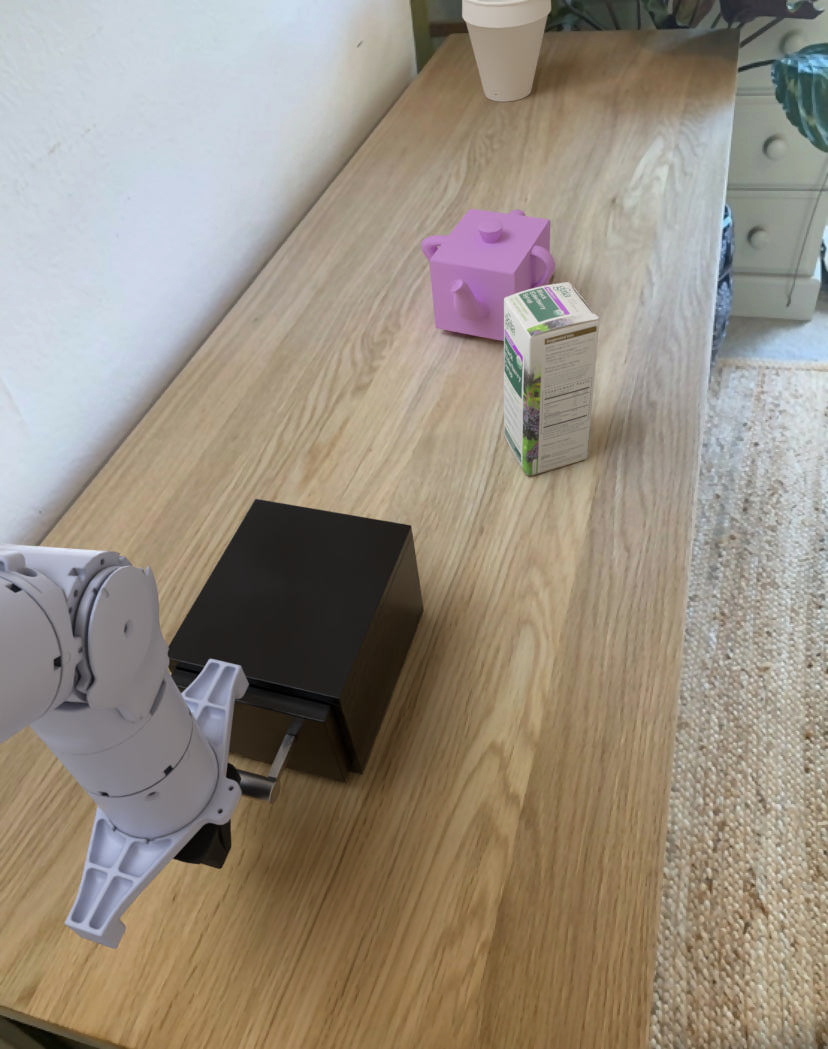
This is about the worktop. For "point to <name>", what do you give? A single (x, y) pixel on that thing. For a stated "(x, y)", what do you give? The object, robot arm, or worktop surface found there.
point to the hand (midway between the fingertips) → (211, 853)
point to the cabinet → (311, 612)
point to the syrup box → (548, 376)
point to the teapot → (486, 268)
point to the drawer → (281, 737)
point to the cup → (506, 43)
